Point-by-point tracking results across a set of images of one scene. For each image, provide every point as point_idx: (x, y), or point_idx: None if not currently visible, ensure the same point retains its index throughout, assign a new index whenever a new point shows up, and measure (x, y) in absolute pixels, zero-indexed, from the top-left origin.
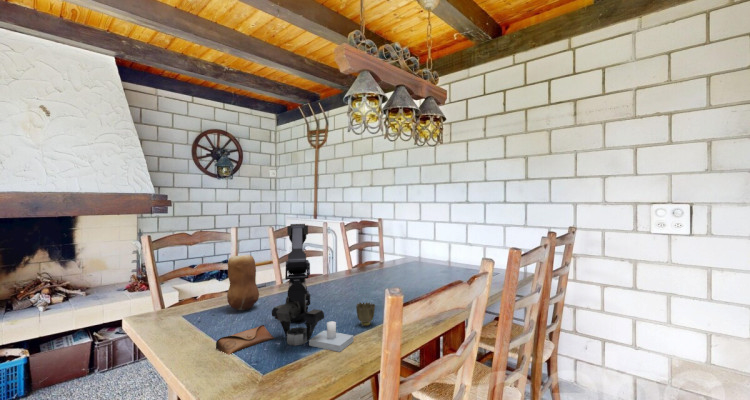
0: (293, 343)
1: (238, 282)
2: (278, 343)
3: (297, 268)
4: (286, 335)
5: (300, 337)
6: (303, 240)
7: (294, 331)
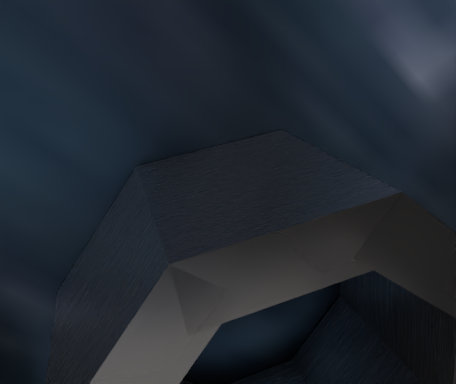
0: (167, 171)
1: None
2: (425, 56)
3: None
4: None
5: (79, 341)
6: None
7: (404, 380)
